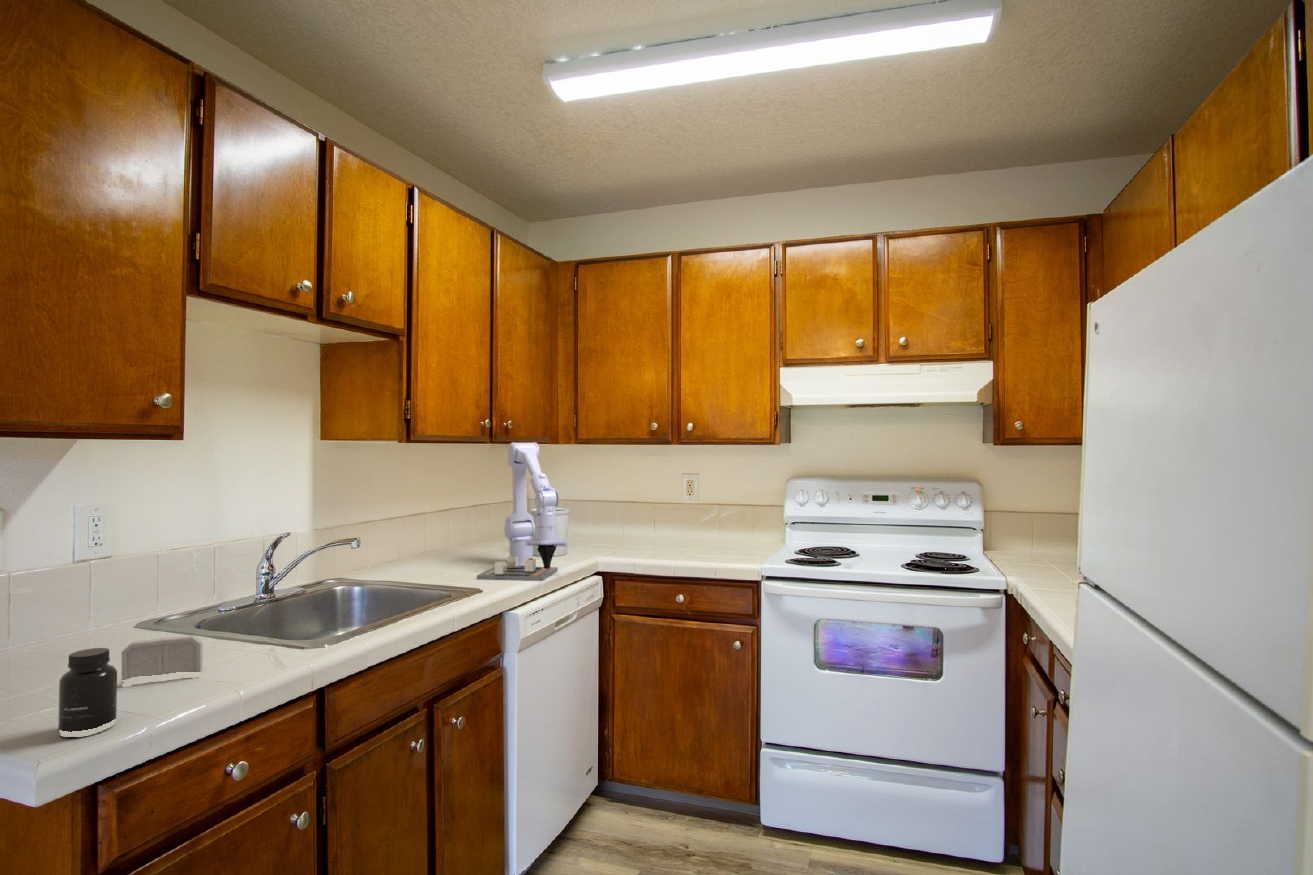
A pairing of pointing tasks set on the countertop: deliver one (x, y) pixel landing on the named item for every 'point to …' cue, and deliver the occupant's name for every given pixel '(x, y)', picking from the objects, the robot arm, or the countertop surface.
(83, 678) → the supplement bottle
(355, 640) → the countertop surface
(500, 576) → the breaker panel
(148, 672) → the light switch
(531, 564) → the block
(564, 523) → the utensil holder
